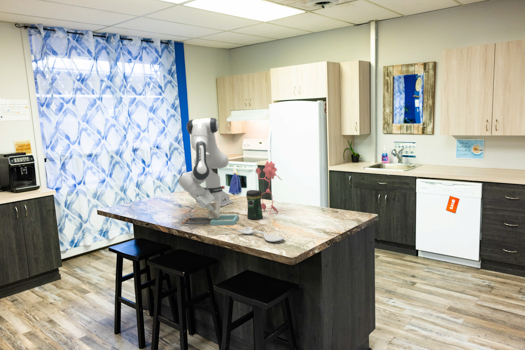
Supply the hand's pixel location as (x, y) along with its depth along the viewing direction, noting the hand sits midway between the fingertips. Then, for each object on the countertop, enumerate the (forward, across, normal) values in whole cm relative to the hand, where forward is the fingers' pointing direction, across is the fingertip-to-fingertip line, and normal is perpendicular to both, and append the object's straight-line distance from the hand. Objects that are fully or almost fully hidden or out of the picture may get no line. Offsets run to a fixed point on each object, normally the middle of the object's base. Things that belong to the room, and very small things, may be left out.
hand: (214, 208), depth 260 cm
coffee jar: (+24, +8, -11) cm, 27 cm away
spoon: (+31, -33, -18) cm, 48 cm away
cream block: (+4, 0, +5) cm, 6 cm away
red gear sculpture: (+30, +26, -17) cm, 43 cm away
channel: (-2, 0, +14) cm, 14 cm away
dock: (+10, 0, +2) cm, 11 cm away
